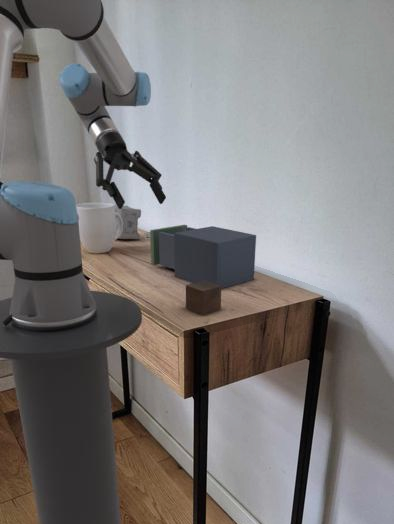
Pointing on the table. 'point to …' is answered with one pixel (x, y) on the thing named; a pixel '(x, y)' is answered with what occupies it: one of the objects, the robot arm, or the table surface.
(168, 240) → the drawer
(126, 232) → the incense holder
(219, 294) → the block
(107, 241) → the mug
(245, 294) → the table surface
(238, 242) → the cabinet
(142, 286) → the table surface
